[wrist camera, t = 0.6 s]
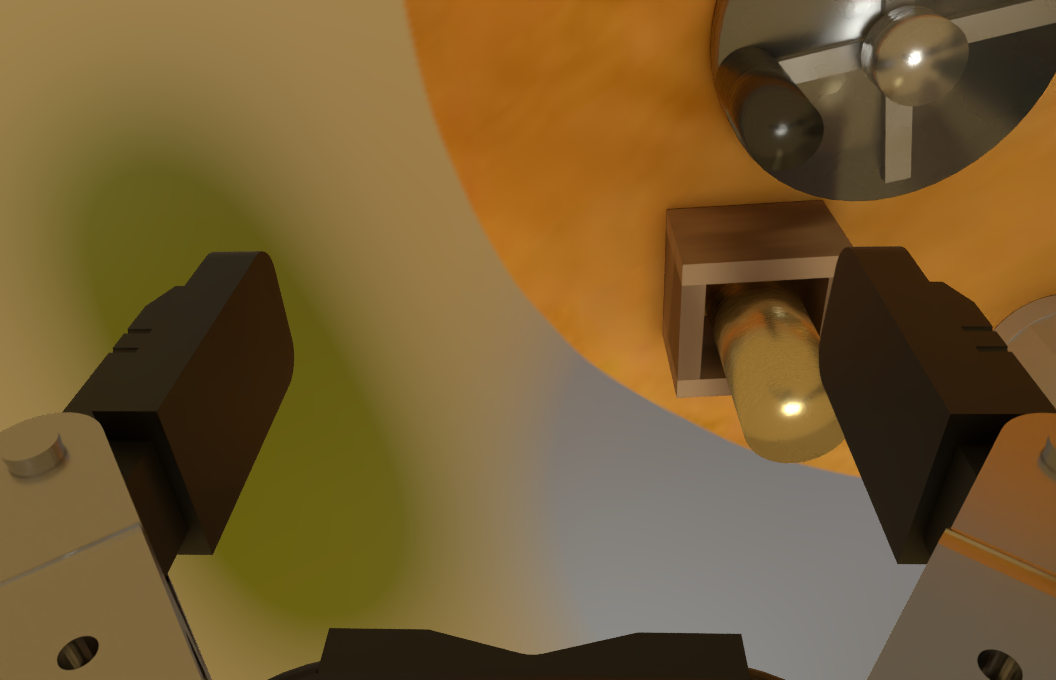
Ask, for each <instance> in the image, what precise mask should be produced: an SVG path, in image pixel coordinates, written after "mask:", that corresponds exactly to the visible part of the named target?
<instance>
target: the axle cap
mask: <svg viewBox="0 0 1056 680" xmlns="http://www.w3.org/2000/svg"><path fill="white" fill-rule="evenodd" d="M968 56H969V47H968V41H967V38H966V36H965V34H964V32H963V31H962V30H961V29H960V28H959V27H958V26H957V25H956V24H954V23H953V22H951V21H949V20H948V19H946V18H944V17H943V16H941V15H940V14H938V13H936V12H935V11H933V10H931V9H929V8H927V7H924V6H919V5H910V6H904V7H900V8H898V9H895V10H893V11H891V12H889V13H888V14H886V15H885V16H883V17H882V18H881V19H880V20H879V21H878V22H877V23H876V24H875V25H874V26H873V27H872V28H871V30H870V31H869V33H868V34H867V36H866V38H865V40H864V43H863V46H862V51H861V65H862V69H863V72H864V73H865V75H866V77H867V78H868V79H869V80H870V81H871V82H872V83H873V84H874V85H875V86H876V87H877V88H878V89H879V90H880V91H881V92H882V93H884V94H885V95H886V96H887V97H888V98H889V99H890V100H891V101H893V102H895V103H897V104H899V105H903V106H921V105H925V104H928V103H931V102H933V101H935V100H937V99H939V98H940V97H942V96H943V95H945V94H946V93H947V92H948V91H949V90H950V89H952V88H953V86H954V85H955V84H956V83H957V82H958V80H959V79H960V77H961V76H962V74H963V72H964V70H965V67H966V64H967V61H968Z"/></svg>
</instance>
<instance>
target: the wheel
mask: <svg viewBox="0 0 1056 680" xmlns="http://www.w3.org/2000/svg"><path fill="white" fill-rule="evenodd" d="M910 5H919V6H924V7H927V8H929V9H931V10H933V11H935V12H936V13H938V14H940V15H941V16H943V17H944V18H946V19H948V20H949V21H951V22H953V23H954V24H956V25H957V26H958V27H959V28H960V29H961V30H962V31H963V32H964V34H965V36H966V38H967V41H968V47H969V56H968V61H967V64H966V67H965V70H964V72H963V74H962V76H961V77H960V79H959V80H958V82H957V83H956V84H955V85H954V86H953V88H952V89H950V90H949V91H948V92H947V93H946V94H945V95H943V96H942V97H940V98H939V99H937V100H935V101H933V102H931V103H928V104H925V105H921V106H903V105H899V104H897V103H895V102H893V101H891V100H890V99H889V98H888V97H887V96H886V95H885V94H884V93H882V92H881V91H880V90H879V89H878V88H877V87H876V86H875V85H874V84H873V83H872V82H871V81H870V80H869V79H868V78H867V77H866V75H865V73H864V72H863V69H862V65H861V51H862V46H863V43H864V40H865V38H866V36H867V34H868V33H869V31H870V30H871V28H872V27H873V26H874V25H875V24H876V23H877V22H878V21H879V20H880V19H881V18H882V17H883V16H885V15H886V14H888V13H889V12H891V11H893V10H895V9H898V8H900V7H904V6H910ZM710 51H711V69H712V74H713V80H714V85H715V89H716V92H717V95H718V98H719V101H720V104H721V107H722V109H723V111H724V113H725V115H726V116H727V118H728V120H729V122H730V124H731V126H732V128H733V130H734V132H735V133H736V135H737V137H738V139H739V141H740V142H741V144H742V145H743V146H744V148H745V149H746V150H747V152H748V153H749V155H750V156H751V157H752V158H753V159H754V160H755V161H756V162H757V163H758V164H759V165H760V166H761V167H762V168H763V169H764V170H765V171H767V172H768V173H769V174H771V175H772V176H773V177H775V178H776V179H777V180H779V181H781V182H783V183H784V184H786V185H788V186H790V187H792V188H794V189H796V190H799V191H802V192H804V193H807V194H810V195H813V196H817V197H822V198H827V199H832V200H844V201H868V200H878V199H884V198H890V197H895V196H899V195H903V194H907V193H910V192H914V191H917V190H919V189H922V188H925V187H927V186H930V185H932V184H935V183H937V182H939V181H941V180H943V179H945V178H947V177H949V176H951V175H953V174H955V173H957V172H959V171H960V170H962V169H963V168H965V167H967V166H968V165H970V164H971V163H973V162H975V161H976V160H978V159H979V158H980V157H981V156H983V155H984V154H985V153H987V152H988V151H989V150H991V149H992V148H993V147H995V146H996V145H997V144H998V143H999V142H1000V141H1001V140H1002V139H1003V138H1004V137H1006V136H1007V135H1008V134H1009V133H1010V132H1011V131H1012V130H1013V129H1014V128H1015V127H1016V126H1017V125H1018V124H1019V122H1020V121H1021V120H1022V119H1023V118H1024V117H1025V116H1026V115H1027V114H1028V112H1029V111H1030V110H1031V109H1032V107H1033V106H1034V105H1035V103H1036V102H1037V101H1038V99H1039V98H1040V97H1041V95H1042V94H1043V92H1044V91H1045V90H1046V88H1047V86H1048V85H1049V83H1050V81H1051V79H1052V78H1053V76H1054V74H1055V73H1056V0H717V3H716V8H715V13H714V18H713V23H712V32H711V45H710Z"/></svg>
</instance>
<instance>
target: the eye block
mask: <svg viewBox="0 0 1056 680" xmlns="http://www.w3.org/2000/svg"><path fill="white" fill-rule="evenodd" d="M846 247H853V246H852V244H851V243H850V241H849V240H848V238H847V237H846V235H845V234H844V232H843V231H842V229H841V228H840V226H839V225H838V223H837V222H836V220H835V219H834V217H833V215H832V214H831V212H830V211H829V209H828V208H827V206H826V205H825V203H824V202H823V200H816V201H799V202H783V203H767V204H750V205H734V206H717V207H701V208H685V209H668V210H667V212H666V245H665V278H664V312H663V338H664V343H665V347H666V352H667V356H668V361H669V365H670V370H671V374H672V379H673V383H674V388H675V392H676V397H677V398H685V397H706V396H726V395H731V392H730V388H729V385H728V382H727V379H726V375H725V372H724V369H723V366H722V362H721V359H720V356H719V353H718V350H717V346H716V343H715V340H714V337H713V333H712V330H711V327H710V324H709V320H708V317H707V316H704V311H705V295H706V284H723V283H740V282H758V281H776V280H791V281H792V283H793V285H794V287H795V289H796V291H797V293H798V295H799V297H800V299H801V301H802V303H803V305H804V307H805V309H806V311H807V313H808V315H809V317H810V319H811V321H812V323H813V325H814V327H815V329H816V331H817V333H818V335H819V337H821V332H822V328H823V323H824V319H825V314H826V309H827V305H828V300H829V295H830V291H831V286H832V282H833V277H834V272H835V268H836V263H837V260H838V257H839V255H840V253H841V251H842V250H843V249H844V248H846Z"/></svg>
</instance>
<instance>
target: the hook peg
mask: <svg viewBox="0 0 1056 680" xmlns="http://www.w3.org/2000/svg"><path fill="white" fill-rule="evenodd" d="M705 311H706V314H707V317H708V320H709V324H710V327H711V330H712V333H713V337H714V340H715V343H716V346H717V350H718V353H719V356H720V359H721V362H722V366H723V369H724V372H725V375H726V379H727V382H728V385H729V388H730V392H731V395H732V398H733V401H734V405H735V408H736V411H737V414H738V417H739V421H740V424H741V427H742V430H743V434H744V437H745V440H746V442H747V444H748V446H749V447H750V448H751V449H752V450H753V451H754V452H755V453H756V454H758V455H759V456H761V457H763V458H765V459H768V460H771V461H775V462H780V463H798V462H804V461H808V460H812V459H815V458H818V457H820V456H822V455H824V454H826V453H828V452H830V451H831V450H833V449H834V448H835V447H837V446H838V445H839V444H840V443H841V442H842V441H843V440H844V439H845V437H844V434H843V432H842V430H841V427H840V425H839V422H838V420H837V418H836V415H835V413H834V410H833V408H832V406H831V403H830V401H829V399H828V396H827V394H826V391H825V389H824V387H823V384H822V381H821V377H820V371H819V343H820V337H819V335H818V333H817V331H816V329H815V327H814V325H813V323H812V321H811V319H810V317H809V315H808V313H807V311H806V309H805V307H804V305H803V303H802V301H801V299H800V297H799V295H798V293H797V291H796V289H795V287H794V285H793V283H792V281H791V280H776V281H758V282H740V283H723V284H706V295H705Z"/></svg>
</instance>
